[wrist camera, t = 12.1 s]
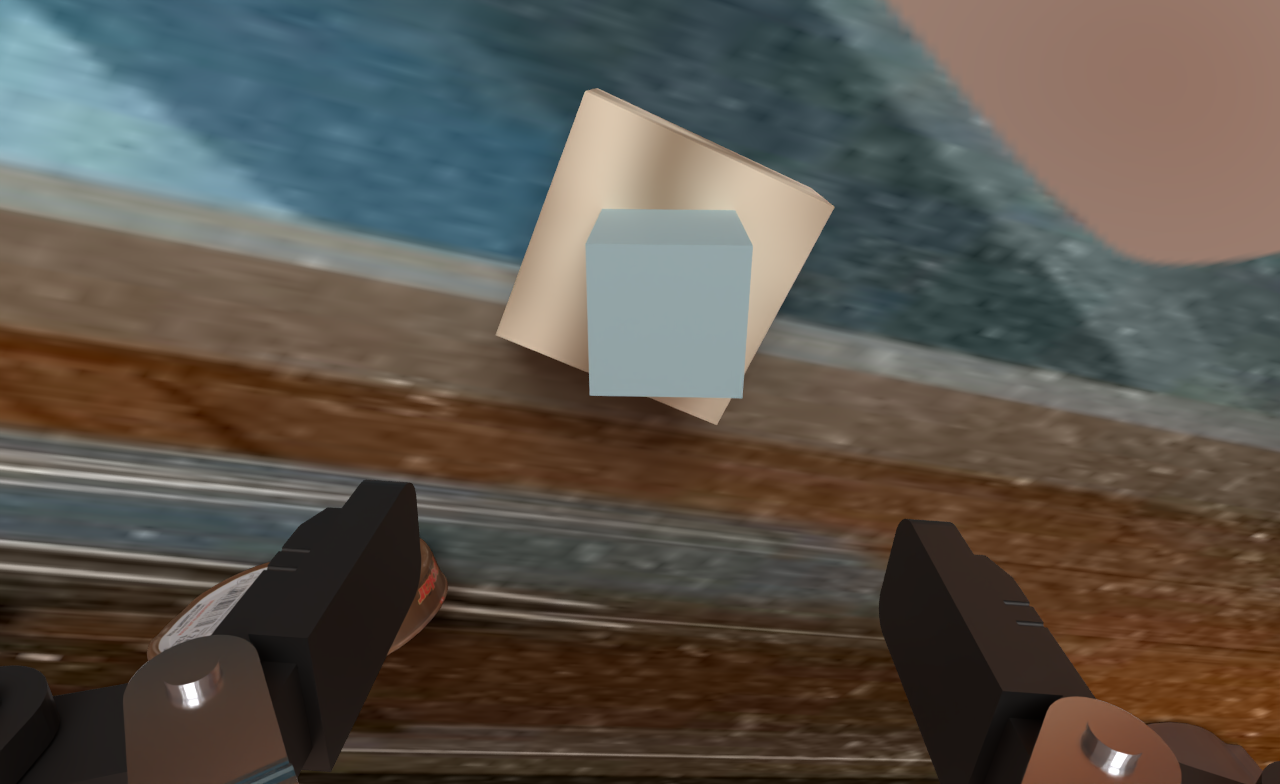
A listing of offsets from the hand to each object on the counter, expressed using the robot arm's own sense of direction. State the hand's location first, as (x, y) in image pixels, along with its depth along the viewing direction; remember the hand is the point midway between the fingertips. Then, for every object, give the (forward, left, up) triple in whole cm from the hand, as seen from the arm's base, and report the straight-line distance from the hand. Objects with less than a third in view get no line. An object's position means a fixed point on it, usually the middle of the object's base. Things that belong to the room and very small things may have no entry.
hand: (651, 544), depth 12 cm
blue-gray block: (0, 0, -17) cm, 17 cm away
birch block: (0, 0, -22) cm, 22 cm away
